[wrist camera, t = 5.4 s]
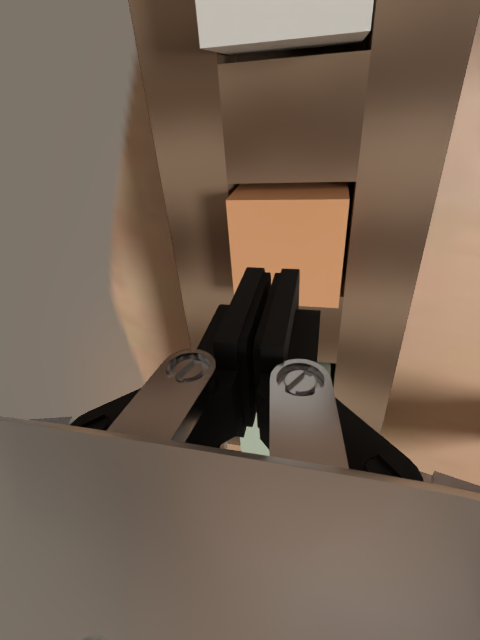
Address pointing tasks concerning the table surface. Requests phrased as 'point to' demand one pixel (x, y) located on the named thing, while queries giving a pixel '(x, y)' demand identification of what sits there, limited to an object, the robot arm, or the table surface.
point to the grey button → (280, 24)
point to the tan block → (291, 234)
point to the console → (311, 161)
